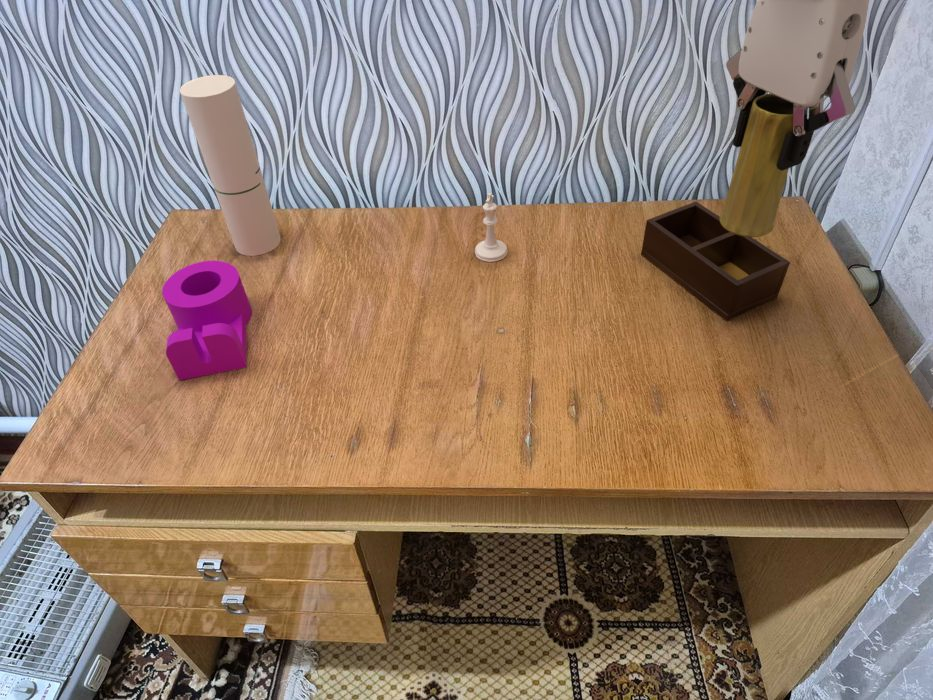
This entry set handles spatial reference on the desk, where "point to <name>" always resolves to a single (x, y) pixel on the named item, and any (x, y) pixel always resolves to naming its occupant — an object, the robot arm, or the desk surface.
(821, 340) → the desk surface
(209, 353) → the magenta bearing bracket
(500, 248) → the chess piece
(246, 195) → the cylindrical container
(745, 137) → the vase
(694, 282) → the brown compartment box
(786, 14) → the robot arm
